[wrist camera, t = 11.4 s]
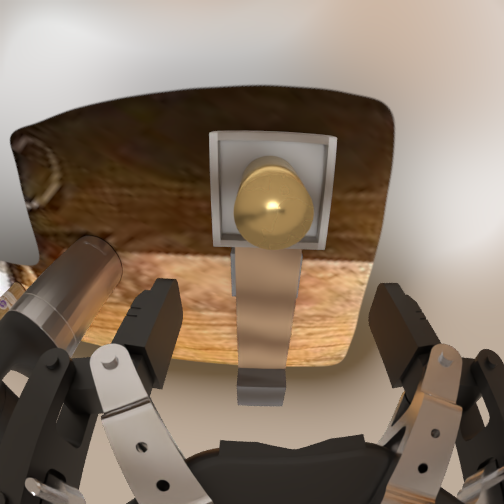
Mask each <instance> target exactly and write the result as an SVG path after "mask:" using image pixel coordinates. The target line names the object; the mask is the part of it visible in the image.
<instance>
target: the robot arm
mask: <svg viewBox="0 0 504 504" xmlns="http://www.w3.org/2000/svg"><path fill="white" fill-rule="evenodd" d="M121 276H122V267H121V263H120V260H119V258H118V256H117V254H116V253H115V251H114V250H113V249H112V247H111V246H110V245H109V244H107V243H106V242H105V241H103V240H102V239H100V238H98V237H94V236H84V237H81V238H80V239H78V240H77V241H76V242H75V243H74V244H73V245H72V246H71V247H69V248H68V249H67V250H66V251H65V252H64V253H63V254H62V255H61V256H60V257H59V258H58V259H57V260H55V261H54V262H53V263H52V264H51V265H50V266H49V267H48V268H47V269H46V270H45V271H44V272H43V273H42V274H41V275H40V276H39V277H38V278H37V280H36V281H35V282H34V283H33V284H32V285H31V286H30V287H29V288H28V289H27V290H26V291H25V292H24V293H23V295H22V296H21V297H20V298H19V299H18V300H17V301H16V303H15V304H14V305H13V306H12V307H11V308H10V309H9V311H8V312H7V313H6V314H5V315H4V316H3V318H2V319H1V320H0V504H86V501H85V499H84V497H83V495H82V494H81V492H80V491H79V485H80V481H81V477H82V472H83V468H84V464H85V459H86V456H87V451H88V448H89V444H90V441H91V437H92V433H93V430H94V427H95V423H96V420H97V417H98V414H99V413H104V415H102V416H101V420H102V424H103V427H104V429H105V432H106V435H107V437H108V440H109V442H110V445H111V447H112V450H113V452H114V455H115V457H116V459H117V462H118V464H119V466H120V468H121V470H122V473H123V474H124V477H125V479H126V481H127V483H128V485H129V487H130V489H131V491H132V492H133V494H134V496H135V498H134V499H133V500H131V501H130V502H128V503H127V504H504V364H503V362H502V360H501V359H500V357H499V356H498V355H497V354H496V353H495V352H493V351H492V350H489V349H483V350H481V351H480V352H479V354H478V355H477V357H476V358H475V359H471V358H462V357H461V356H460V354H459V352H458V351H457V350H456V349H455V348H453V347H452V346H450V345H447V344H441V342H440V340H439V339H438V337H437V336H436V333H435V332H434V330H433V328H432V327H431V325H430V323H429V322H428V320H426V317H425V315H424V313H422V310H421V309H420V307H419V306H418V304H417V302H416V301H415V300H413V299H412V298H411V297H410V296H409V295H405V293H404V292H403V290H402V289H401V287H400V285H399V284H398V283H380V284H379V286H378V287H377V291H376V294H375V297H374V300H373V303H372V306H371V309H370V312H369V326H370V329H371V332H372V334H373V337H374V339H375V342H376V344H377V347H378V349H379V352H380V355H381V357H382V360H383V363H384V365H385V368H386V371H387V374H388V376H389V379H390V382H391V385H392V388H397V387H402V386H403V388H404V390H405V391H404V392H403V393H402V395H401V397H400V400H399V403H398V405H397V407H396V410H395V412H394V414H393V416H392V419H391V421H390V423H389V425H388V428H387V430H386V432H385V433H384V435H383V436H382V438H381V439H380V440H379V442H378V443H377V444H374V443H368V442H365V440H364V436H363V434H361V435H355V436H348V437H341V438H332V439H328V440H325V441H323V442H320V443H317V444H313V445H310V446H307V447H303V448H300V449H287V448H282V447H277V446H272V445H267V444H263V443H259V442H240V441H239V442H237V441H224V440H221V441H220V447H219V448H216V449H211V450H207V451H203V452H200V453H198V454H195V455H193V456H191V457H189V458H187V459H185V457H184V456H183V454H182V452H181V451H180V449H179V448H178V446H177V445H176V443H175V441H174V440H173V438H172V436H171V435H170V433H169V431H168V430H167V428H166V426H165V424H164V423H163V421H162V419H161V417H160V415H159V413H158V411H157V410H156V408H155V406H154V404H153V402H152V400H151V398H150V394H151V391H152V388H157V389H162V388H163V385H164V381H165V378H166V374H167V370H168V367H169V364H170V360H171V357H172V354H173V351H174V348H175V344H176V341H177V338H178V335H179V331H180V328H181V325H182V320H183V310H182V304H181V298H180V293H179V287H178V282H177V280H176V279H163V278H158V279H156V281H155V283H154V285H153V287H152V288H151V290H144V291H143V292H142V293H141V294H139V295H138V296H137V297H136V298H135V300H134V301H133V303H132V305H131V308H130V309H129V310H128V312H127V314H126V315H127V316H125V318H124V320H123V322H122V323H121V325H120V327H119V329H118V331H117V333H116V335H115V337H114V339H113V341H112V343H111V344H107V345H104V346H101V347H100V348H98V349H97V350H96V351H95V352H94V353H93V355H92V356H91V357H87V358H73V359H71V356H72V355H73V353H74V351H75V349H76V347H77V346H78V344H79V342H80V341H81V339H82V337H83V336H84V334H85V333H86V331H87V329H88V328H89V326H90V325H91V323H92V321H93V320H94V318H95V317H96V315H97V314H98V312H99V311H100V309H101V308H102V306H103V305H104V303H105V302H106V300H107V299H108V297H109V296H110V294H111V293H112V291H113V290H114V288H115V287H116V286H117V284H118V283H119V281H120V279H121ZM10 370H14V371H17V372H19V373H21V374H23V375H25V376H26V377H28V378H29V379H28V381H27V383H26V385H25V387H24V389H23V391H22V393H21V396H20V398H18V396H17V395H15V394H14V393H13V392H12V391H11V390H10V389H9V388H8V387H7V385H5V383H4V382H3V381H2V379H3V378H4V377H5V375H6V374H7V373H8V372H9V371H10ZM481 397H483V399H484V402H485V404H486V407H487V409H488V412H489V416H490V419H489V423H488V425H487V426H486V427H485V426H484V423H483V420H482V417H481V415H480V412H479V409H478V406H477V404H476V402H477V401H478V400H479V399H480V398H481ZM62 405H63V406H62ZM61 407H62V409H61ZM60 410H61V411H60ZM59 413H60V414H59ZM58 415H59V417H58ZM57 418H58V420H57ZM56 421H57V422H56ZM454 444H456V447H457V452H458V456H459V460H460V464H461V469H462V473H463V479H464V484H463V487H462V489H461V490H460V491H459V492H458V494H457V498H456V497H455V496H453V495H452V494H450V493H449V492H447V491H446V490H444V489H443V488H441V483H442V481H443V479H444V476H445V473H446V470H447V467H448V464H449V461H450V458H451V455H452V451H453V448H454Z"/></svg>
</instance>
